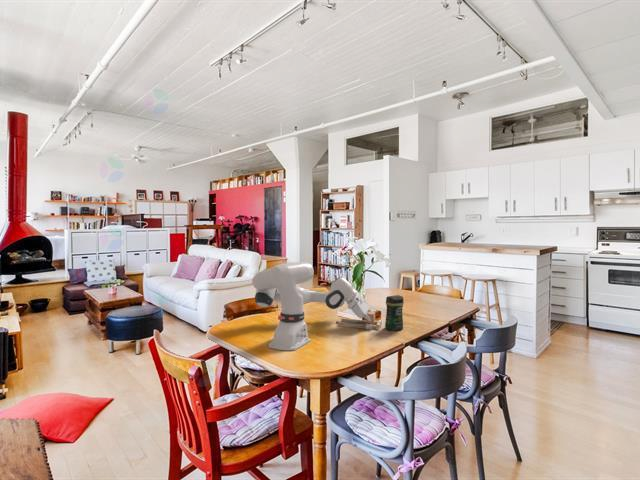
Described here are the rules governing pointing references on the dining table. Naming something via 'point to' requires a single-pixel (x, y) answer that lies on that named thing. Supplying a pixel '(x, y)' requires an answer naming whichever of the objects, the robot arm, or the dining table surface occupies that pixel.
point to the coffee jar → (394, 312)
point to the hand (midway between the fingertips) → (372, 318)
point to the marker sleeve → (372, 316)
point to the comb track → (362, 325)
